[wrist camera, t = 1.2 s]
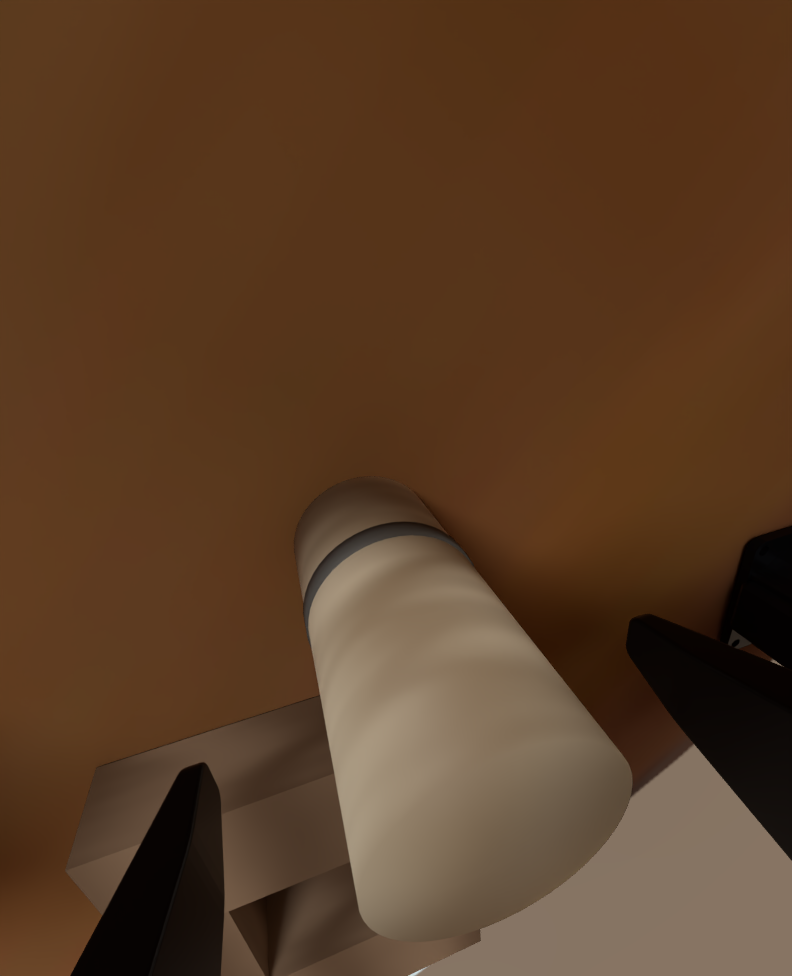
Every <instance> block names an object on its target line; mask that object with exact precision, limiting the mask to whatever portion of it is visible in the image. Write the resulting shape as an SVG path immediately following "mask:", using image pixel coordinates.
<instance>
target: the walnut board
mask: <svg viewBox="0 0 792 976" xmlns="http://www.w3.org/2000/svg"><path fill="white" fill-rule="evenodd" d="M200 762H205V763H206V764H207V765H208V767H209V769H210V771H211V773H212V775H213V777H214V779H215V781H216V784H217V786H218V788H219V791H220V797H221V814H222V838H223V862H224V889H225V907H224V929H223V946H222V963H221V976H408V975H410V974H412V973H414V972H416V971H419V970H421V969H423V968H425V967H427V966H429V965H431V964H433V963H435V962H437V961H440V960H442V959H444V958H446V957H448V956H450V955H452V954H454V953H456V952H458V951H460V950H463V949H465V948H467V947H469V946H471V945H473V944H475V943H477V942H479V941H481V940H480V929H479V930H476V931H473V932H470V933H466V934H463V935H460V936H456V937H451V938H447V939H442V940H435V941H426V942H407V941H398V940H393V939H389V938H386V937H384V936H381V935H379V934H377V933H376V932H374V931H373V930H371V929H370V928H369V927H368V926H367V924H366V923H365V922H364V921H363V919H362V917H361V914H360V912H359V907H358V902H357V896H356V891H355V885H354V880H353V874H352V868H351V863H350V857H349V852H348V846H347V841H346V835H345V830H344V824H343V819H342V813H341V808H340V802H339V797H338V791H337V785H336V780H335V774H334V769H333V763H332V758H331V752H330V747H329V741H328V736H327V730H326V725H325V719H324V714H323V708H322V702H321V697H320V696H317V697H314V698H311V699H308V700H305V701H302V702H299V703H295V704H292V705H289V706H286V707H283V708H280V709H277V710H274V711H271V712H268V713H265V714H261V715H258V716H255V717H252V718H249V719H246V720H243V721H240V722H237V723H234V724H230V725H227V726H224V727H221V728H218V729H215V730H212V731H209V732H206V733H203V734H200V735H196V736H193V737H190V738H187V739H184V740H181V741H178V742H175V743H172V744H169V745H165V746H162V747H159V748H156V749H153V750H150V751H147V752H144V753H141V754H138V755H134V756H131V757H128V758H125V759H122V760H119V761H116V762H113V763H110V764H107V765H104V766H100V767H97V768H96V770H95V774H94V777H93V780H92V784H91V787H90V790H89V794H88V797H87V800H86V804H85V807H84V810H83V813H82V817H81V820H80V823H79V827H78V830H77V833H76V837H75V840H74V843H73V846H72V850H71V853H70V856H69V860H68V863H67V866H66V870H65V871H66V873H67V874H68V875H69V876H70V877H71V879H72V880H73V881H74V882H75V883H76V885H77V886H78V887H79V888H80V889H81V891H82V892H83V893H84V894H85V895H86V897H87V898H88V899H89V900H90V901H91V902H92V904H93V905H94V906H95V907H96V908H97V910H98V911H99V912H100V913H101V914H102V915H103V914H104V912H105V910H106V908H107V906H108V904H109V902H110V900H111V899H112V897H113V895H114V893H115V891H116V889H117V887H118V885H119V884H120V882H121V880H122V878H123V876H124V874H125V872H126V870H127V869H128V867H129V865H130V863H131V861H132V859H133V857H134V855H135V854H136V852H137V850H138V848H139V846H140V844H141V842H142V840H143V839H144V837H145V835H146V833H147V831H148V829H149V827H150V825H151V824H152V822H153V820H154V818H155V816H156V814H157V812H158V811H159V809H160V807H161V805H162V803H163V801H164V799H165V797H166V796H167V794H168V792H169V790H170V788H171V786H172V784H173V782H174V781H175V779H176V777H177V775H178V773H179V772H180V771H181V770H182V769H183V768H185V767H188V766H191V765H194V764H197V763H200Z"/></svg>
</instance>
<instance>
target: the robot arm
mask: <svg viewBox="0 0 792 976" xmlns="http://www.w3.org/2000/svg"><path fill="white" fill-rule="evenodd" d="M750 644H753V645H754V646H756V647H757V648H759V649H760V650H761V651H763V652H764V653H766V654H767V655H768V656H770V657H771V658H772V659H774V660H775V661H777V662H778V663H779V664H781V665H782V666H780V665H777V664H775V663H772V662H770V661H768V660H765V659H763V658H760V657H758V656H755V655H753V654H750V653H748V652H745V651H742V650H740V649H739V648H742V647H745V646H747V645H750ZM626 649H627V652H628V654H629V656H630V658H631V659H632V661H633V662H634V664H635V665H636V666H637V668H638V669H639V671H640V672H641V674H642V675H643V676H644V678H645V679H646V681H647V682H648V684H649V685H650V686H651V688H652V689H653V691H654V692H655V694H656V695H657V696H658V698H659V699H660V701H661V702H662V704H663V705H664V707H665V708H666V709H667V711H668V712H669V713H670V715H671V716H672V717H673V719H674V720H675V721H676V723H677V724H678V725H679V726H680V728H681V729H682V730H683V731H684V733H685V734H686V735H687V736H688V737H689V738H690V740H691V741H692V742H693V743H694V744H695V746H696V747H697V748H698V749H699V750H700V752H701V753H702V754H703V755H704V756H705V758H706V759H707V760H708V761H709V762H710V764H711V765H712V766H713V767H714V768H715V769H716V771H717V772H718V773H719V774H720V776H721V777H722V778H723V779H724V780H725V781H726V783H727V784H728V785H729V786H730V787H731V789H732V790H733V791H734V792H735V793H736V795H737V796H738V797H739V798H740V799H741V801H742V802H743V803H744V804H745V805H746V807H747V808H748V809H749V810H750V811H751V813H752V814H753V815H754V816H755V817H756V819H757V820H758V821H759V822H760V823H761V824H762V826H763V827H764V828H765V829H766V830H767V832H768V833H769V834H770V835H771V836H772V838H773V839H774V840H775V841H776V842H777V844H778V845H779V846H780V847H781V848H782V850H783V851H784V852H785V853H786V854H787V856H788V857H789V858H790V859H791V860H792V526H791V527H788V528H785V529H782V530H779V531H775V532H772V533H769V534H766V535H763V536H759V537H757V538H755V539H753V540H752V541H751V542H750V543H749V545H748V546H747V549H746V552H745V555H744V559H743V562H742V566H741V569H740V573H739V576H738V580H737V583H736V587H735V590H734V594H733V597H732V601H731V604H730V608H729V611H728V615H727V618H726V622H725V625H724V629H723V632H722V636H721V639H720V641H717V640H715V639H712V638H710V637H707V636H705V635H702V634H700V633H697V632H695V631H692V630H690V629H687V628H685V627H682V626H680V625H677V624H675V623H672V622H670V621H667V620H665V619H662V618H660V617H657V616H655V615H652V614H643V615H640V616H637V617H634V618H632V619H631V620H630V623H629V628H628V634H627V641H626ZM783 666H784V667H783ZM224 907H225V889H224V862H223V838H222V814H221V797H220V791H219V788H218V786H217V784H216V781H215V779H214V777H213V775H212V773H211V771H210V769H209V767H208V765H207V764H206V763H205V762H200V763H197V764H194V765H191V766H188V767H185V768H183V769H182V770H181V771H180V772H179V773H178V775H177V777H176V779H175V781H174V782H173V784H172V786H171V788H170V790H169V792H168V794H167V796H166V797H165V799H164V801H163V803H162V805H161V807H160V809H159V811H158V812H157V814H156V816H155V818H154V820H153V822H152V824H151V825H150V827H149V829H148V831H147V833H146V835H145V837H144V839H143V840H142V842H141V844H140V846H139V848H138V850H137V852H136V854H135V855H134V857H133V859H132V861H131V863H130V865H129V867H128V869H127V870H126V872H125V874H124V876H123V878H122V880H121V882H120V884H119V885H118V887H117V889H116V891H115V893H114V895H113V897H112V899H111V900H110V902H109V904H108V906H107V908H106V910H105V912H104V914H103V915H102V917H101V919H100V921H99V923H98V925H97V927H96V929H95V930H94V932H93V934H92V936H91V938H90V940H89V942H88V943H87V945H86V947H85V949H84V951H83V953H82V955H81V957H80V958H79V960H78V962H77V964H76V966H75V968H74V970H73V972H72V973H71V975H70V976H221V963H222V946H223V929H224Z"/></svg>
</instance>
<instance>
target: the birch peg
mask: <svg viewBox="0 0 792 976" xmlns="http://www.w3.org/2000/svg"><path fill="white" fill-rule="evenodd" d="M294 553H295V559H296V564H297V570H298V575H299V581H300V586H301V592H302V597H303V614H304V620H305V626H306V631H307V637H308V641H309V644H310V646H311V649H312V653H313V658H314V664H315V669H316V675H317V680H318V686H319V691H320V697H321V702H322V708H323V714H324V719H325V725H326V730H327V736H328V741H329V747H330V752H331V758H332V763H333V769H334V774H335V780H336V785H337V791H338V797H339V802H340V808H341V813H342V819H343V824H344V830H345V835H346V841H347V846H348V852H349V857H350V863H351V868H352V874H353V880H354V885H355V891H356V896H357V902H358V907H359V912H360V914H361V917H362V919H363V921H364V922H365V923H366V924H367V926H368V927H369V928H370V929H371V930H373V931H374V932H376V933H377V934H379V935H381V936H384V937H386V938H389V939H393V940H398V941H407V942H426V941H435V940H442V939H447V938H451V937H456V936H460V935H463V934H466V933H470V932H473V931H476V930H479V929H481V928H484V927H487V926H489V925H492V924H494V923H496V922H499V921H501V920H503V919H505V918H507V917H509V916H511V915H513V914H515V913H517V912H519V911H521V910H523V909H525V908H526V907H528V906H530V905H532V904H533V903H535V902H536V901H538V900H540V899H541V898H543V897H544V896H546V895H547V894H549V893H550V892H552V891H553V890H554V889H556V888H557V887H559V886H560V885H561V884H563V883H564V882H565V881H566V880H567V879H569V878H570V877H571V876H573V875H574V874H575V873H576V872H577V871H578V870H580V869H581V868H582V867H583V866H584V865H585V864H586V863H587V862H588V861H589V860H590V859H591V858H592V857H593V856H594V855H595V854H596V853H597V852H598V851H599V850H600V848H601V847H602V846H603V845H604V844H605V842H606V841H607V840H608V839H609V837H610V836H611V834H612V833H613V832H614V830H615V829H616V827H617V826H618V824H619V822H620V820H621V819H622V817H623V815H624V813H625V811H626V808H627V806H628V803H629V800H630V797H631V792H632V784H633V782H632V772H631V769H630V766H629V764H628V762H627V761H626V759H625V758H624V756H623V755H622V754H621V752H620V751H619V750H618V749H617V747H616V746H615V745H614V744H613V742H612V741H611V740H610V739H609V737H608V736H607V735H606V733H605V732H604V731H603V730H602V728H601V727H600V726H599V725H598V723H597V722H596V721H595V720H594V718H593V717H592V716H591V715H590V713H589V712H588V711H587V709H586V708H585V707H584V706H583V704H582V703H581V702H580V701H579V699H578V698H577V697H576V696H575V694H574V693H573V692H572V691H571V689H570V688H569V687H568V685H567V684H566V683H565V682H564V680H563V679H562V678H561V677H560V675H559V674H558V673H557V672H556V670H555V669H554V668H553V667H552V665H551V664H550V663H549V661H548V660H547V659H546V658H545V656H544V655H543V654H542V653H541V651H540V650H539V649H538V648H537V646H536V645H535V644H534V643H533V641H532V640H531V639H530V637H529V636H528V635H527V634H526V632H525V631H524V630H523V629H522V627H521V626H520V625H519V624H518V622H517V621H516V620H515V619H514V617H513V616H512V615H511V613H510V612H509V611H508V610H507V608H506V607H505V606H504V605H503V603H502V602H501V601H500V600H499V598H498V597H497V596H496V595H495V593H494V592H493V591H492V589H491V588H490V587H489V586H488V584H487V583H486V582H485V581H484V579H483V578H482V577H481V576H480V574H479V573H478V572H477V571H476V569H475V567H474V565H473V563H472V562H471V560H470V559H469V557H468V556H467V555H466V553H465V552H464V551H463V550H462V548H461V547H460V546H459V545H458V543H457V542H456V541H455V540H454V539H453V538H452V537H450V536H449V535H448V534H447V533H446V531H445V530H444V529H443V528H442V526H441V525H440V524H439V523H438V521H437V520H436V519H435V517H434V516H433V515H432V514H431V512H430V511H429V510H428V509H427V507H426V506H425V505H424V504H423V502H422V501H421V500H420V499H419V497H418V496H417V495H416V494H415V493H414V492H413V491H412V490H411V489H409V488H408V487H407V486H405V485H403V484H401V483H400V482H397V481H394V480H392V479H388V478H384V477H375V476H369V477H359V478H353V479H350V480H346V481H343V482H341V483H339V484H336V485H334V486H333V487H331V488H329V489H327V490H326V491H325V492H323V493H322V494H321V495H319V496H318V497H317V498H316V499H315V500H314V501H313V502H312V503H311V504H310V505H309V507H308V508H307V509H306V511H305V512H304V514H303V515H302V517H301V519H300V521H299V523H298V526H297V529H296V532H295V538H294Z"/></svg>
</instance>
